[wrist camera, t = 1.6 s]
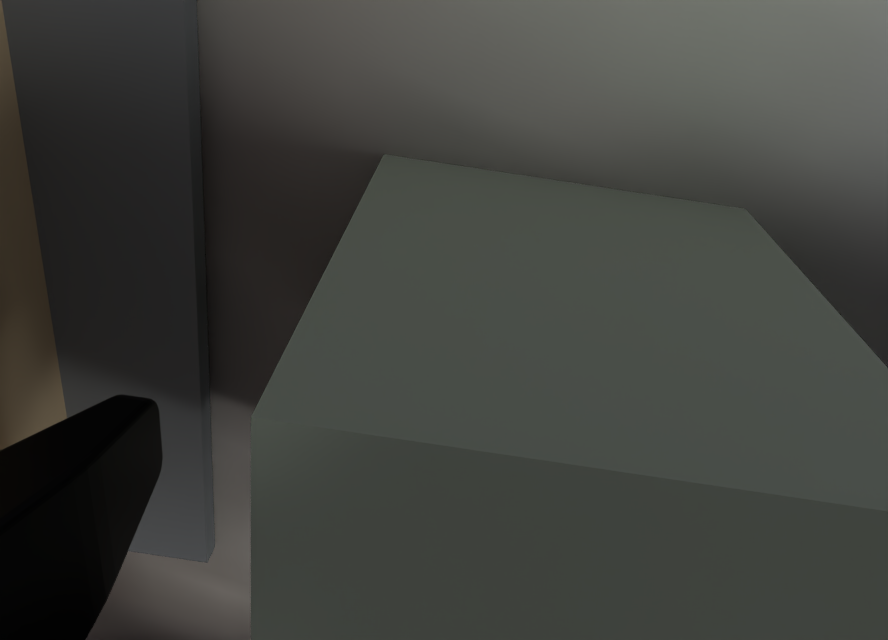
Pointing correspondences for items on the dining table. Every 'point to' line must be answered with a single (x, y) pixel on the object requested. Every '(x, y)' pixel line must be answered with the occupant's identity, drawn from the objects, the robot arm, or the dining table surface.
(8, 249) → the slab bottom
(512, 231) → the sage block
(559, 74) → the dining table surface
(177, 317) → the mat
